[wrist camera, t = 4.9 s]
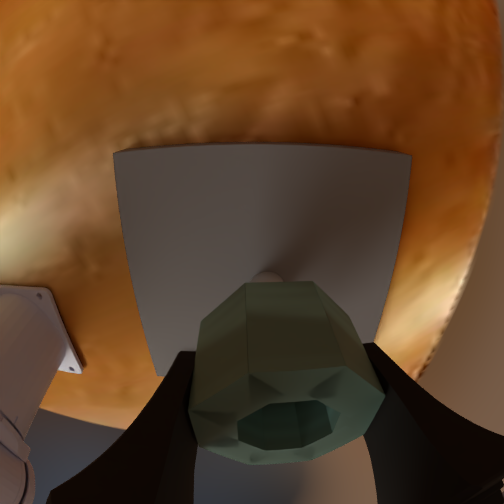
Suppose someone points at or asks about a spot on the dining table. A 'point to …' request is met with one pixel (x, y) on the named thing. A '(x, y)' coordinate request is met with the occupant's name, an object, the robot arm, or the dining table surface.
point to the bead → (280, 376)
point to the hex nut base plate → (256, 228)
